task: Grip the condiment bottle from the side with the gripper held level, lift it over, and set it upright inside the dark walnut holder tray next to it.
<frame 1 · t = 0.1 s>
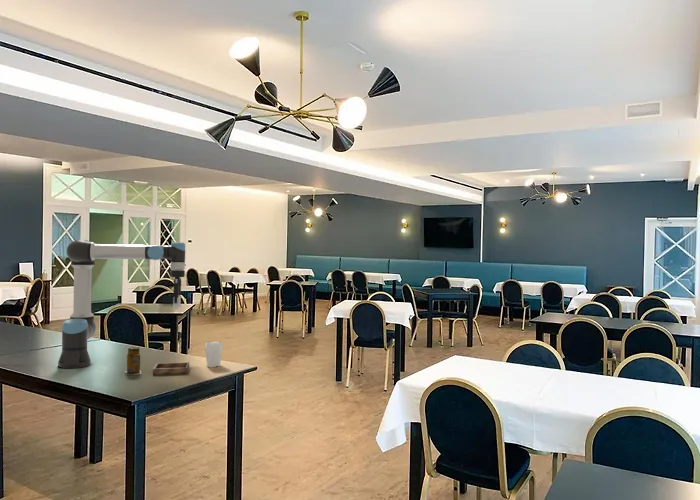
hand: (176, 308, 307), 28 cm above the table, tool pointing down, fingers open, 13 cm apart
condiment: (133, 373, 270), on the table
holder tray: (171, 371, 274), on the table
cup: (213, 366, 289), on the table
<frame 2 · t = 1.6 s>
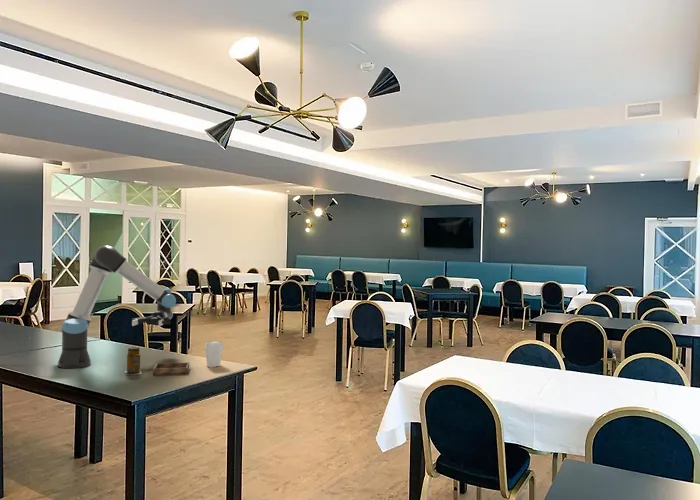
hand: (146, 323, 286), 22 cm above the table, tool horizontal, fingers open, 13 cm apart
nothing on the table moved.
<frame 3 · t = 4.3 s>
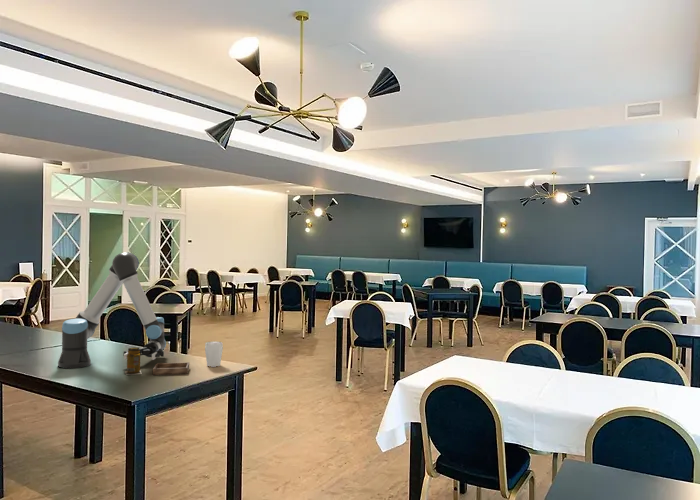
hand: (138, 357, 275), 7 cm above the table, tool horizontal, fingers open, 13 cm apart
nothing on the table moved.
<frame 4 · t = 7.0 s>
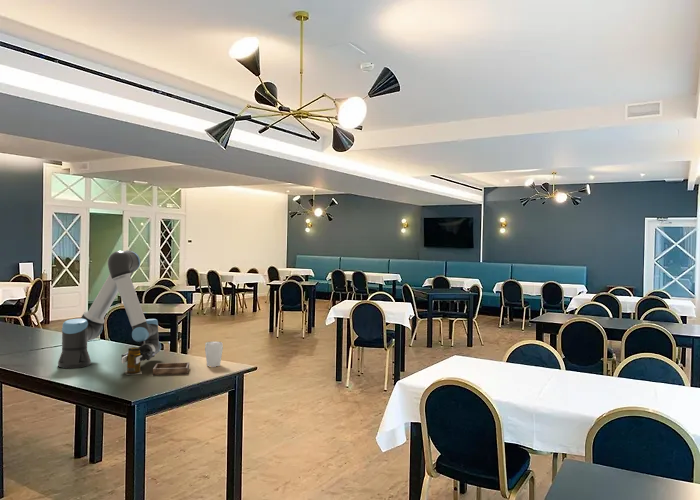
hand: (129, 360, 265), 7 cm above the table, tool horizontal, fingers closed on condiment, 6 cm apart
condiment: (133, 373, 270), on the table, touching gripper
everything else where it was.
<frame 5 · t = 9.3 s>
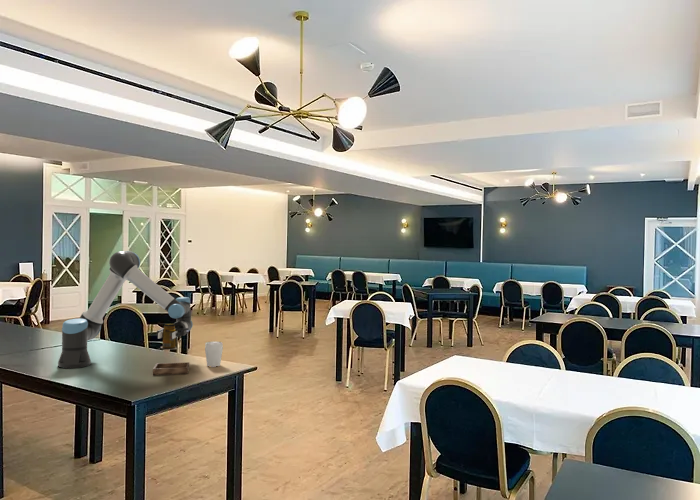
hand: (165, 335, 268), 19 cm above the table, tool horizontal, fingers closed on condiment, 6 cm apart
condiment: (169, 348, 273), point 11 cm above the table, touching gripper
everything else where it was.
when the fingers open (9 cm above the table, at t = 11.8 s): condiment drops 1 cm, resting on holder tray.
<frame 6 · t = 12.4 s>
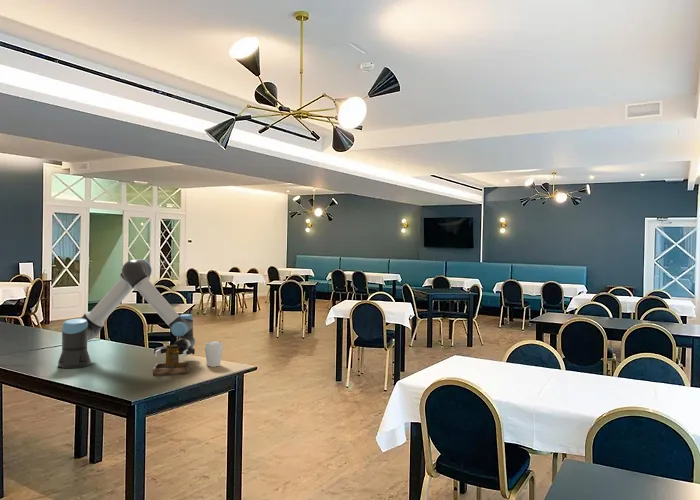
hand: (169, 354, 270), 9 cm above the table, tool horizontal, fingers open, 13 cm apart
condiment: (172, 370, 274), point 1 cm above the table, touching holder tray
everything else where it was.
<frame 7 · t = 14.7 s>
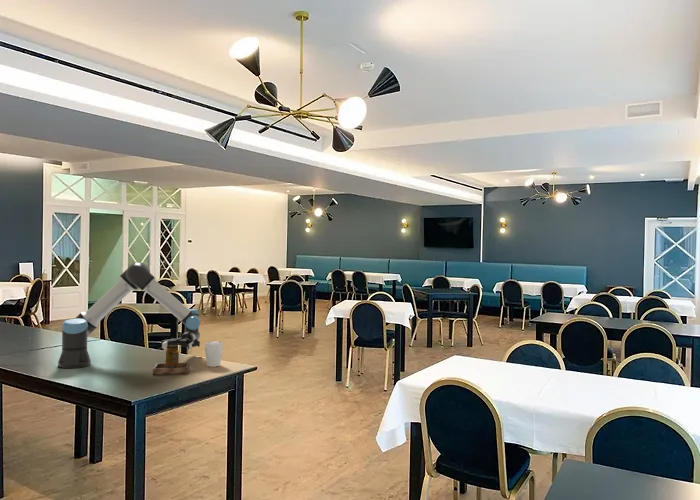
hand: (176, 346, 284), 11 cm above the table, tool horizontal, fingers open, 13 cm apart
nothing on the table moved.
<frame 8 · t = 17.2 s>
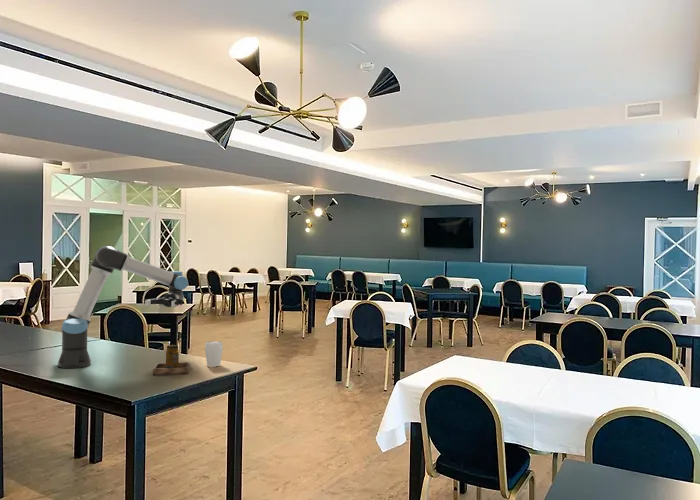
hand: (159, 303, 289), 32 cm above the table, tool horizontal, fingers open, 13 cm apart
nothing on the table moved.
at the end: condiment inside the target area on the holder tray (0.2 cm from its centre), point 0.6 cm above the holder tray's base; condiment tilted 0°; the gripper is holding nothing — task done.
